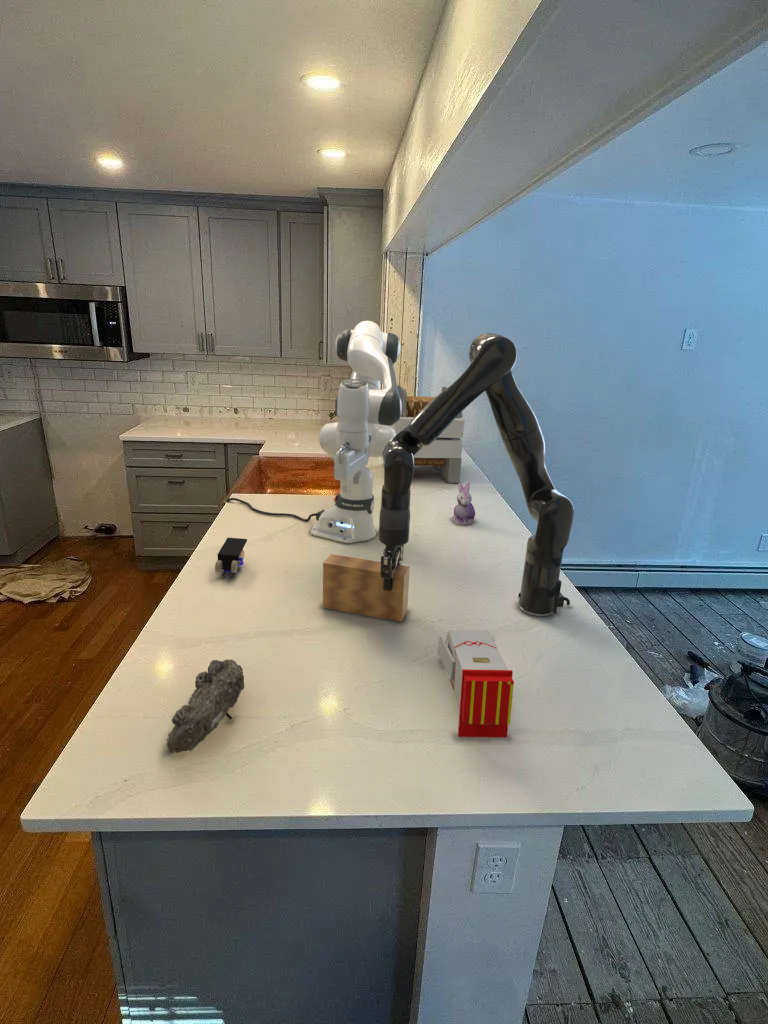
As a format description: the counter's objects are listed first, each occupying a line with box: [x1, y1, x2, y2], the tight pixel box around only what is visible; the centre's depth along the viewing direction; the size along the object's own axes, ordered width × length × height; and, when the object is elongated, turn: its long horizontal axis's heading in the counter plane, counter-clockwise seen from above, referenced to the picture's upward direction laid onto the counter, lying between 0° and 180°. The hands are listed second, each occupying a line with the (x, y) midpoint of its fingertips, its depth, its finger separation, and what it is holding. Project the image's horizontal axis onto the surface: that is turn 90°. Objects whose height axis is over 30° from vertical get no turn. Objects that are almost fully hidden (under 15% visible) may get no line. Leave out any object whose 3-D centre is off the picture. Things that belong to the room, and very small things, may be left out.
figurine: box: [452, 481, 476, 526], centre depth 212 cm, size 9×10×15 cm
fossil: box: [166, 658, 245, 754], centre depth 106 cm, size 22×10×15 cm
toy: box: [437, 628, 515, 738], centre depth 117 cm, size 12×13×30 cm
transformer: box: [383, 384, 465, 484], centre depth 268 cm, size 34×33×41 cm
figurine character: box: [214, 537, 248, 578], centre depth 166 cm, size 7×8×15 cm
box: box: [322, 553, 411, 622], centre depth 147 cm, size 21×6×13 cm, turn 74°
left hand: (351, 487), depth 161 cm, fingers open, 8 cm apart
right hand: (391, 584), depth 145 cm, fingers closed on box, 6 cm apart
